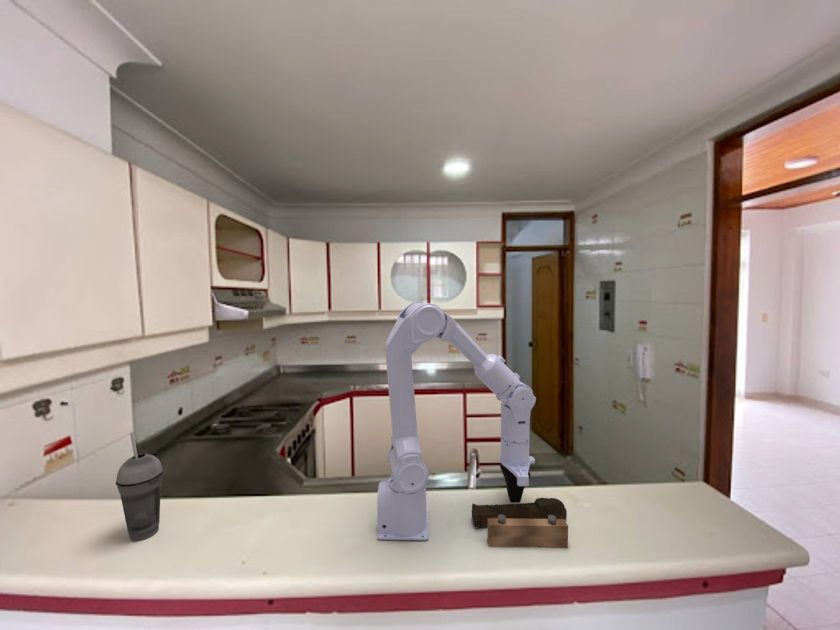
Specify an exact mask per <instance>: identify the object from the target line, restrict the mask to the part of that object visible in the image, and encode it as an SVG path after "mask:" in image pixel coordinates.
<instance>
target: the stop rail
mask: <svg viewBox="0 0 840 630" xmlns="http://www.w3.org/2000/svg"><path fill="white" fill-rule="evenodd" d="M486 526H487V527H486V529H487V530H486V532H487V533H486V534H487V536H486V537H487V543H488V547H494V548H495V547H500V548H501V547H505V548H506V547H508V548H509V547H510V548H557V549H558V548H560V549H562V548H566V549H567V548H569V545H568V544H569V525H568V524H567V522H566V520H564V519H556V517H555V516H554V515H549V516H548V519H515V518H506V516H505V515H503V514H499V515H498V518H487V525H486Z"/></svg>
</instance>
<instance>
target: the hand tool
mask: <svg viewBox="0 0 840 630" xmlns="http://www.w3.org/2000/svg"><path fill="white" fill-rule="evenodd" d="M567 513H568V511H567V508H566V507H565V504H564V502H563V501H561V500H560V499H558V498H555V497H539V498H536V499H535V500H534V502H527V503H526V502H524V503H506V504H496V503H495V504H482V505H481V504H480V505H479V504H475V503H472V505H471V518H472V523H473V526H474V528H475V529H477V528H478V527H481V528H485V527H486V526H487V518H498V515H499V514H503V515H505V516H506V518H515V519H548V516H549V515H554V516H555V517H556V519H564V520H565V521H566V520H567V517H568V515H567Z"/></svg>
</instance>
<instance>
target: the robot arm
mask: <svg viewBox="0 0 840 630" xmlns="http://www.w3.org/2000/svg"><path fill="white" fill-rule="evenodd" d="M435 338H438V339H439V340H443V341H447V342H449V343H450V344H451V345H452V347H454V348H455V349H456V350H457V351H458V352H459V353H461V354H462V355H463V356H464V357H465V358H466V359H467V360H469V362H470V363H471V364H473V367H474V375H475V376H476V378H478V379H479V381H481V382H482V383H483V385H485V386H486V387H487V388H488V389H489V390H490V391H491V392H492V393H493V394H494V395H495V397H496V399H497V400H498V401H500V402H501V403H500V455H499V461H500V464H499V468H500V470H501V472H502V475H503V477H504V481H505V486H506V491H507V497H508V499H509V502H510V504H521V501H522V497H523V494H524V490H525V487H529V486H530V484H529V483H530V482H529V481H530V479H531V472H530V468H531V467H530V466H531V465H535V463H536V459H535V457H534V456H531V455H530V425H531V424H530V420H531V419H530V418H531V411H532V409H533V408H534V406H535V404H536V401H537V397H536V396H534V391H533V389H532V388H531V387H530V386H529V385H527V384H526V383H524V382H522V381H521V380H520V378H521V376H520V375H519V373H516V372H513V371H512V370H511V369H510V368H509V366H507V365H506V364H505V363H506V359H504V357H502V356H501V355H496V354H493V353H490V354H487V353H485V351H483V349H482V348H481V347H480V346H479V345H478V344H477V343H476V342H475V340H474V339H472V337H471V336H470V335H469V334H468V333H467V332H466V331H465V329H463V328H462V327H461V325H460V324H459V323H458V322H457V321H456V320H455V319H454V318H452V316H450V315H449V314H448V313H446V312H444V311H443V309H442V308H441V307H440V306H439V305H437V304H434V303H426V302H422V301H415V302H412V303H410V304H408V305H407V306H406V307H405V308H404V309H403V310H402V311H401V312H400V313H398V316H397V319H396V322H395V323H394V325H393V327H392V329H391V331H390V333H389V335H388V337H387V339H386V341H385V344H384V350H385V365H386V376H387V387H388V399H389V411H390V423H391V432H392V433H391V437H390V440H391V444H390V448H389V450H388V453H387V459H388V460H387V461H388V463H389V465H390V467H391V474H390V477H389V478H388V479H387V480H382V481H379V483H378V488H377V499H376V500H377V501H376V506H377V508H376V511H377V517H376V518H377V536H376V537H377V540H381V541H382V540H385V541H386V540H388V541H390V540H391V541H393V540H394V541H427V540H429V525H430V524H429V519H430V518H429V517H430V516H429V515H430V512H428V511H427V482H428V479H429V469H428V468H427V466H426V464H425V462H424V461H423V457H422V456H423V455H422V454H423V453H422V449H421V445H420V442H419V440H420V439H419V433H418V425H417V424H418V423H417V422H418V421H417V410H416V401H415V400H416V399H415V387H414V386H415V385H414V384H415V383H414V375H413V374H414V373H413V372H414V371H413V361H412V357H413V356H412V355H413V354H414V353H415V352H416V351H417V350H418V349H419V348H420V347H421V346H422V345H423V344H425V343H426V342H428V341H431V340H433V339H435Z"/></svg>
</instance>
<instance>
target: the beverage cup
mask: <svg viewBox="0 0 840 630" xmlns="http://www.w3.org/2000/svg"><path fill="white" fill-rule="evenodd" d="M129 435H130V441H131V447H132V451H133V456H131V457H129V458H128V459H126V461H124V463H122V464H121V466H120V467H119V468H118V472H117V475H116V481H115V485H116V487H117V490H118V493H119V495H120V500H121V505H122V509H123V514H124V515H123V516H124V519H125V525H126V530H127V532H128V537H129V540H130V541H131V542H141V541H145V540H147V539H150V538H152V537H153V536H154V535H156V534H157V533H158V532H159V530H160V527H159V526H160V517H161V514H160V513H161V487H162V482H163V481H162V480H163V473H164V468H163V465H162V462H161V461H160V459H159V458H157V457H156V456H155V455H153V454H149V453H140V454H139V453H138V450H137V445H136V438H135V433H134V432H130V434H129Z"/></svg>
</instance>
